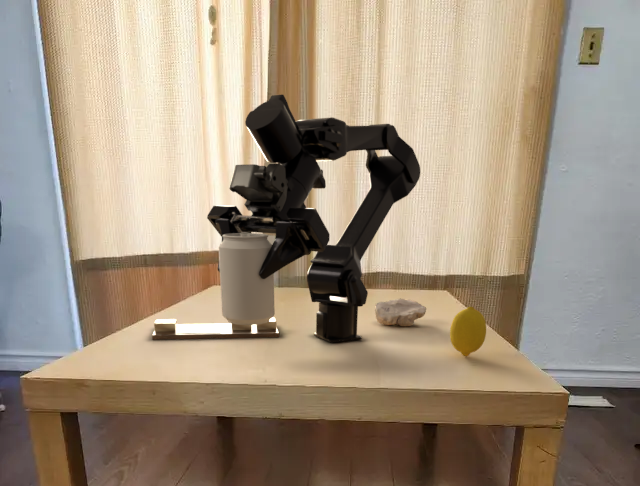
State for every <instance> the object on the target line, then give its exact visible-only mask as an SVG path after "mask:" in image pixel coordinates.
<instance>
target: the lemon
mask: <svg viewBox="0 0 640 486" xmlns="http://www.w3.org/2000/svg"><path fill="white" fill-rule="evenodd" d="M486 335H487V322H486V319H485V317H484V315H483V314H482V312H481V311H479V310H477V309H475V308H474V306H471V305H470V306H468V307H467V308H464V309H461V310H460V311H459V312H457V313H456V315H454V317H453V319H452V321H451V324H450V330H449V338H450V343H451V345H452V347H453V348H454V349H455V350H456V351H457V352H459V353H460V354H461V355H462V356H463V357H468V356H470V355H471V354H472V353H475V352H476V351H478V350H479V349H480V348H482V346H483V344H484V342H485V339H486Z"/></svg>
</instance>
